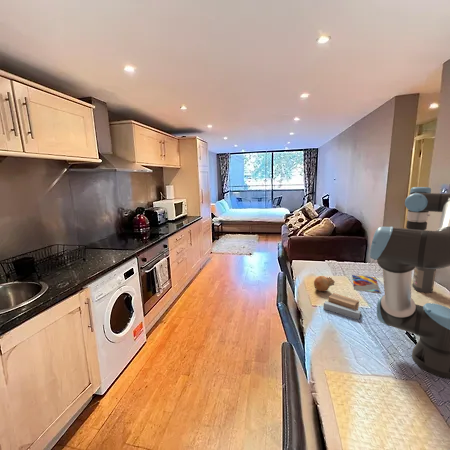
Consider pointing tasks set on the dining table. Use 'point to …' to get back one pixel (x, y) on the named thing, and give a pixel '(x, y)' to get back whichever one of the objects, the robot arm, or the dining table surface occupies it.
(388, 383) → the dining table surface
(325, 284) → the onion
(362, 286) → the relief map
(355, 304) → the block
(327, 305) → the grey rectangular bar
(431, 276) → the liquor
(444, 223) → the robot arm
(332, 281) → the wooden fragment
